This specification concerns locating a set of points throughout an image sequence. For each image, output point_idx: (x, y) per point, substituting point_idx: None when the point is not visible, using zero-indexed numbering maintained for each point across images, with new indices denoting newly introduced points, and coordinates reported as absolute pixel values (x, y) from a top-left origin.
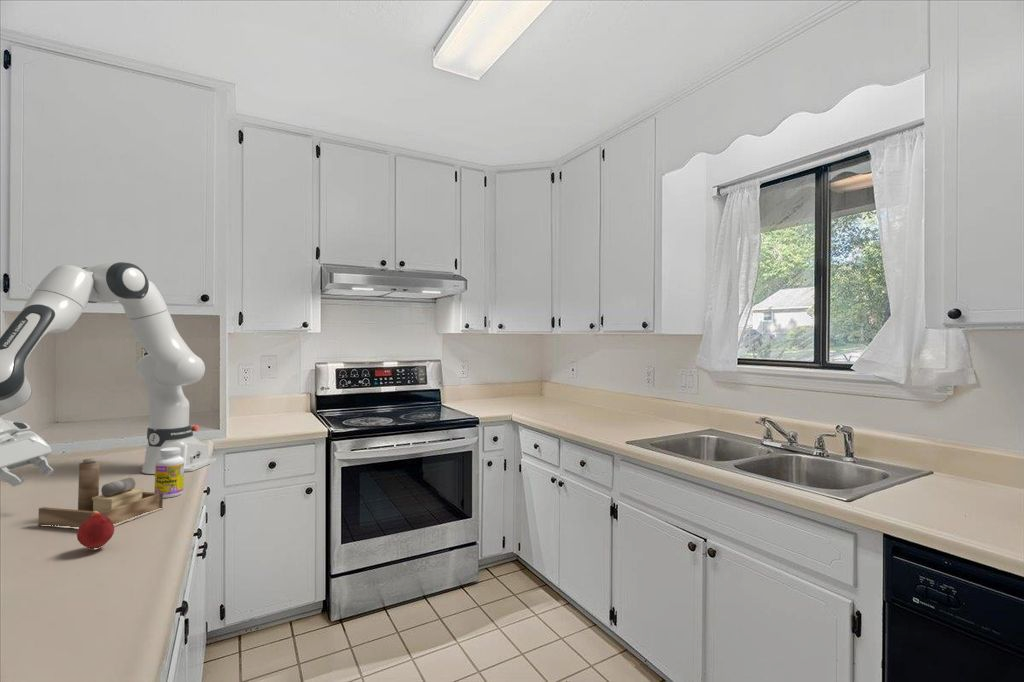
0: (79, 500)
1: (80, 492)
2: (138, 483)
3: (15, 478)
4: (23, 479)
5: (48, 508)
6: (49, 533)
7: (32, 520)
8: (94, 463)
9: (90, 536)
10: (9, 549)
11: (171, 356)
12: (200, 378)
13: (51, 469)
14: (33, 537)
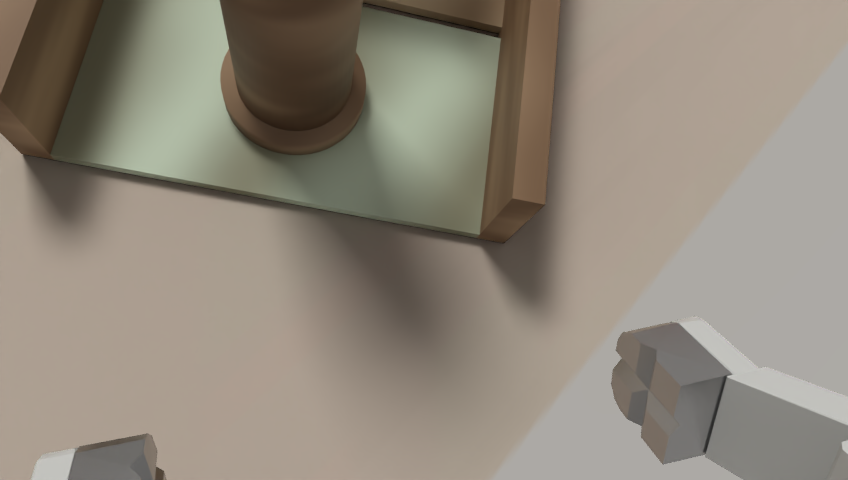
0: (354, 50)
1: (361, 2)
2: None
3: (737, 354)
4: (639, 331)
5: (533, 140)
6: (593, 91)
7: (407, 380)
8: None
9: None
10: (789, 108)
11: None
12: None
13: (71, 455)
14: (653, 124)
